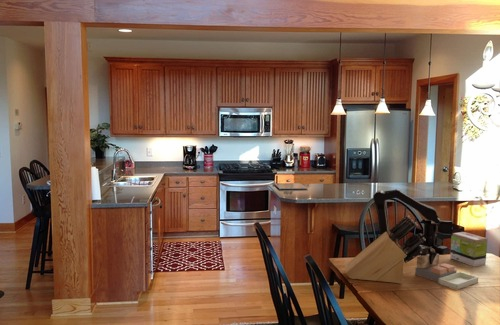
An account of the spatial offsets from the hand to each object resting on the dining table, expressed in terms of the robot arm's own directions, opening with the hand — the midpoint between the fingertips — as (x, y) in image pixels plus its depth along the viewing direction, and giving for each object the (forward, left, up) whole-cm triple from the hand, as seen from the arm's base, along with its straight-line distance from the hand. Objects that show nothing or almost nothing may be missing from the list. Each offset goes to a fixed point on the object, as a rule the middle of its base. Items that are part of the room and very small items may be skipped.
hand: (427, 263), depth 209 cm
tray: (0, -16, -5) cm, 17 cm away
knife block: (-26, +6, -5) cm, 27 cm away
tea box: (+36, -1, -5) cm, 36 cm away
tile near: (-3, -8, -1) cm, 9 cm away
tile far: (+4, -8, -1) cm, 9 cm away
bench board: (0, -5, -5) cm, 7 cm away
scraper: (0, 0, -1) cm, 1 cm away
